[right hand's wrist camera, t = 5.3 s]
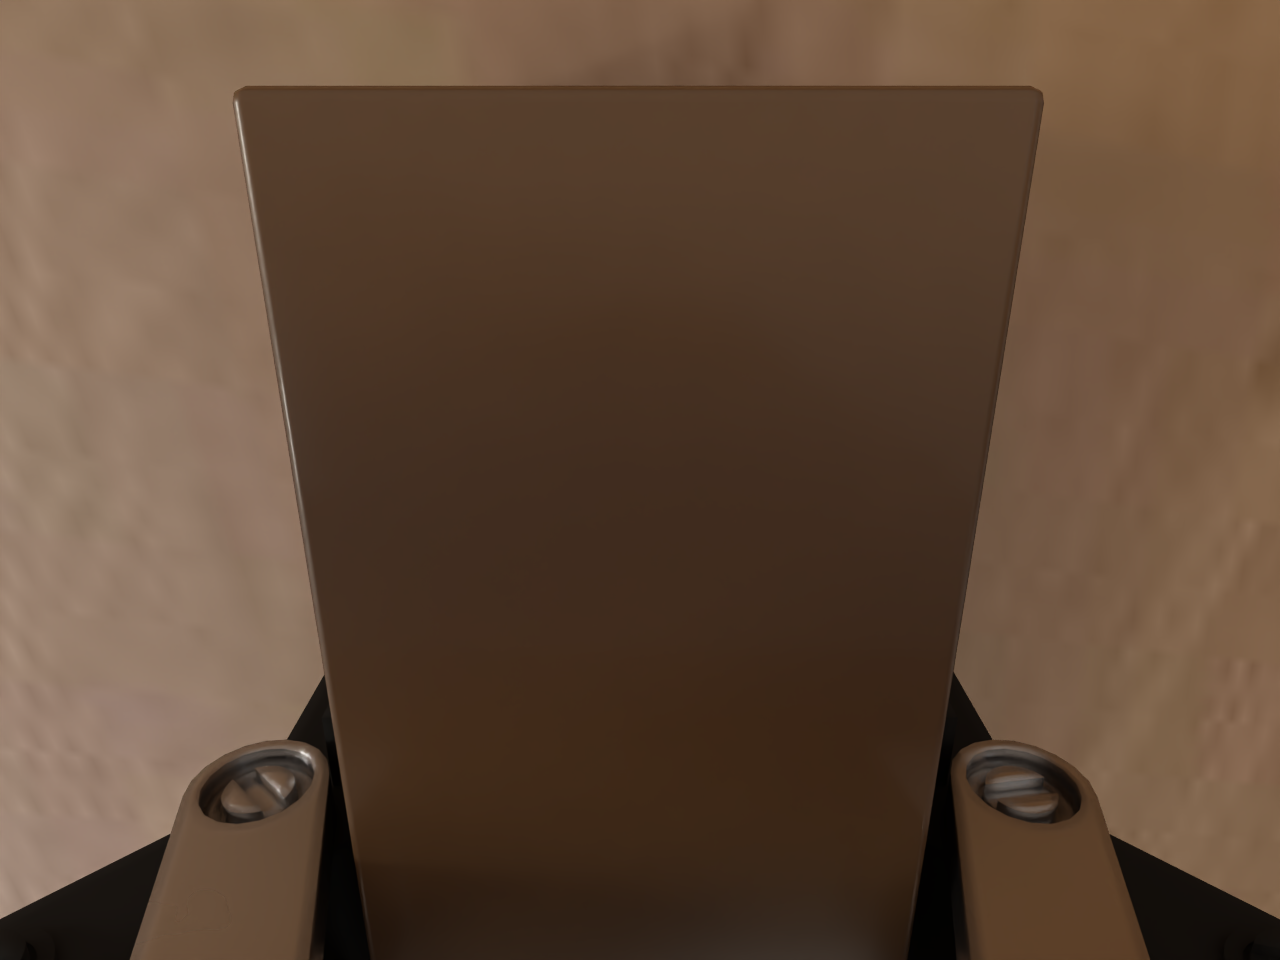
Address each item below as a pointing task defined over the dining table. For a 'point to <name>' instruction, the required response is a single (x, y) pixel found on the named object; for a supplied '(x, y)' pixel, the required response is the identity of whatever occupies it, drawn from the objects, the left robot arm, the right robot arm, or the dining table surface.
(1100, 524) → the dining table surface
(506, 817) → the beam
